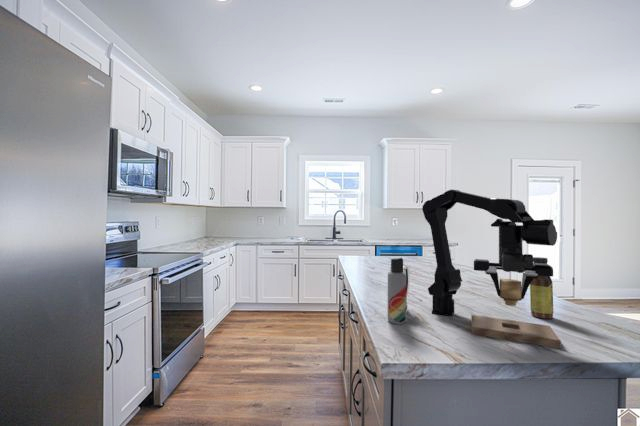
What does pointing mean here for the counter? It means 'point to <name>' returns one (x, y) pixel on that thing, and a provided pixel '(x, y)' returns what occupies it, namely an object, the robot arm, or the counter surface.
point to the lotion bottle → (397, 292)
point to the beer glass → (406, 270)
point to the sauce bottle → (541, 294)
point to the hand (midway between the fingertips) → (510, 297)
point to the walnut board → (515, 331)
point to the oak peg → (510, 291)
